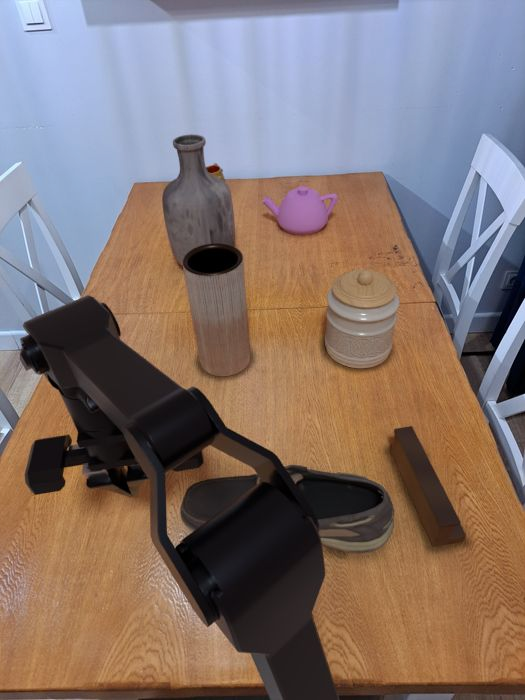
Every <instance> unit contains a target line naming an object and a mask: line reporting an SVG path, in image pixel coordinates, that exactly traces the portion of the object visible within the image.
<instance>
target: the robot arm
mask: <svg viewBox="0 0 525 700" xmlns="http://www.w3.org/2000/svg"><path fill="white" fill-rule="evenodd" d="M22 328H23V329H24V331H25V333H26V334H27V335H24V336H22V337H20V338H19V341H20V345H21V348H20V352H19V361H20V363H21V364H22V366H23V368H24V370H25V371H26V372H28V371H29V370H31V369H32V371H33V372H34V374H36V375H39V376H41V375H44V377H45V379H46V380H47V381H48V383H49V384H50V385H51V386H52V388H53V389H55V390H57V391H58V392H59V394H60V397H61V399H62V401H63V403H64V405H65V408H66V409H67V412H68V414H69V416H70V418H71V420H72V423H73V425H74V427H75V429H76V432H77V435H76V444H72V443H73V438H72V437H71V435H70V434H62V435H57V436H56V435H55V436H49V437H44V438H38V439H35V440H34V441H33V442H32V444H31V446H30V450H29V453H28V458H27V463H26V467H25V472H24V482H25V485H26V487H27V488H28V490H29V491H30V492H31V493H32V494H33V495H35V496H37V495H43V494H49V493H55V492H60V491H61V490H62V489H63V488H65V487H66V479H65V478H64V473H65V469H66V468H72V467H77V466H78V467H79V466H82V470H81V473H82V475H83V476H85V477H86V483H85V485H86V487H87V488H88V489H90V490H95V489H96V490H97V489H98V490H103V491H107V492H112V493H115V494H118V495H121V496H124V497H127V498H137V497H138V495H139V491H140V488H141V486H142V485H143V484H144V483H145V481H149V526H150V527H149V529H150V532H149V533H150V534H149V535H150V539H151V543H152V545H153V546H154V547H155V549H156V551H157V552H158V555H159V556H160V558H161V559H162V561H163V562H164V565H165V566H166V567H167V569H168V571H169V573H170V574H171V576H172V577H173V579H174V580H175V582H176V584H177V586H178V587H179V589H180V591H181V593H182V594H183V596H184V597H185V599H186V601H187V602H188V604H189V605H190V607H191V608H192V610H193V611H194V613H195V614H196V616H197V617H198V619H199V620H200V621H201V622H202V624H203V625H204V626H205V627H206V628H209V627H211V625H213V624H214V623H215V625H216V626H217V627H218V628H219V630H220V631H221V633H223V635H224V636H225V637H226V639H227V640H228V641H229V642H230V644H231V645H232V647H233V648H234V649H235V651H236V652H237V653H241V654H250V656H251V658H252V660H253V663H254V665H255V668H256V670H257V672H258V673H259V676H260V679H261V681H262V683H263V686H264V688H265V691H266V692H267V694H268V698H269V700H341V699H340V695H339V693H338V690H337V686H336V684H335V681H334V676H333V674H332V671H331V668H330V664H329V662H328V658H327V655H326V653H325V648H324V646H323V644H322V640H321V637H320V635H319V631H318V628H317V626H316V622H315V618H314V616H313V611H314V608H315V604H316V602H317V599H318V597H319V594H320V591H321V589H322V586H323V584H324V580H325V577H326V565H325V558H324V557H325V556H324V549H323V545H322V542H321V537H320V535H319V529H320V525H319V522H318V519H317V517H316V515H315V513H314V511H313V510H312V508H311V506H310V505H309V503H308V502H307V500H306V499H305V497H304V496H303V494H302V493H301V491H300V490H299V488H298V487H297V485H296V484H295V482H294V481H293V479H292V478H291V476H290V475H289V473H288V472H287V470H286V469H285V467H286V466H284V463H282V461H281V460H280V458H279V456H278V455H277V454H276V453H275V452H274V451H272V450H270V449H268V448H266V447H264V446H262V445H261V444H258V443H257V442H255V441H253V440H251V439H249V438H247V437H245V436H244V435H242V434H240V433H238V432H236V431H234V430H233V429H230V428H229V427H227V426H226V423H224V421H223V420H222V418H221V416H220V415H219V413H218V412H217V410H216V409H215V407H214V406H213V404H212V403H211V401H210V400H209V398H208V397H207V396H206V395H205V394H204V393H203V392H202V390H200V389H199V388H198V387H195V386H190V387H189V388H187V389H186V388H184V387H182V386H181V385H180V384H179V383H178V382H176V381H175V380H173V379H172V378H171V377H169V376H168V375H167V374H166V373H164V372H163V371H162V370H160V369H159V368H158V367H157V366H155V365H154V364H152V363H151V362H150V361H149V360H148V359H146V358H145V357H143V355H141V354H140V353H139V352H137V351H136V350H134V349H133V348H132V347H130V345H128V344H127V343H125V342H124V341H123V340H121V338H120V337H121V336H122V333H121V332H122V331H121V329H120V325H119V322H118V321H117V318H116V317H115V315H114V313H113V312H112V310H111V308H110V307H109V306H108V305H107V303H105V302H100V301H98V299H97V298H95V297H94V296H92V295H89V294H87V295H84V296H82V297H80V298H78V299H75V300H73V301H70V302H68V303H66V304H63V305H61V306H59V307H57V308H54V309H51V310H49V311H47V312H44V313H42V314H39V315H37V316H34V317H33V318H31V319H28V320H26V321H24V322H23V324H22ZM209 446H211V447H213V448H214V449H216V450H217V451H220V452H221V453H224V454H226V455H227V456H229V457H231V458H233V459H235V460H237V461H239V462H241V463H243V464H245V465H246V466H248V467H250V468H251V469H253V470H254V471H255V474H258V476H259V477H260V479H261V481H262V482H259V483H258V484H257V485H255V486H254V487H253V488H251V489H250V490H249V491H247V492H246V493H245V494H243V495H242V496H241V497H239V498H238V499H236V500H235V501H234V502H232V503H231V504H230V505H228V506H227V507H226V508H224V509H223V510H222V511H220V512H219V513H218V514H216V515H215V516H213V517H212V518H211V519H209V520H208V521H207V522H205V523H204V524H203V525H201V526H200V527H199V528H197V529H196V530H195V531H191V532H190V533H189V534H187V535H186V536H185V537H184V538H182V539H181V540H180V541H179V543H178V544H177V545H176V546H175V545H174V544H173V542H172V540H171V539H170V537H169V535H168V521H167V519H168V518H167V486H166V485H167V484H166V481H167V480H166V475H167V473H170V472H171V471H173V472H175V473H177V472H184V471H191V470H196V469H200V468H201V467H202V466H203V465H204V464H205V459H204V450H205V449H206V448H207V447H209ZM125 467H126V468H125Z"/></svg>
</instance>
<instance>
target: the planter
mask: <svg viewBox="0 0 525 700" xmlns="http://www.w3.org/2000/svg"><path fill="white" fill-rule="evenodd" d="M182 264H183V266H182V269H183V275H184V280H185V287H186V292H187V299H188V304H189V308H190V316H191V321H192V327H193V332H194V338H195V344H196V350H197V354H198V361H199V364H200V367H201V368H202V370H203V371H205V372H206V373H208V374H210V375H212V376H216V377H230V376H233V375H236V374H239V373H241V372H243V371H244V370H245V369H246V368H247V367H248V366H249V365H250V362H251V358H252V357H251V356H252V355H251V341H250V340H251V339H250V328H249V315H248V302H247V290H246V279H245V277H246V276H245V263H244V255H243V253H242V252H241V250H240V249H239V248H237V247H236V246H235V247H233V246H231V245H227V244H220V243H214V244H206V245H202V246H199V247H196V248H194V249H192V250H191V251H189V252H188V253H187V254H186V255H185V256H184V258H183V262H182Z"/></svg>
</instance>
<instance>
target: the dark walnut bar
mask: <svg viewBox="0 0 525 700" xmlns="http://www.w3.org/2000/svg"><path fill="white" fill-rule="evenodd" d="M393 434H394V436H393V438H392V444H391V449H390V453H391V456H392V458H393V460H394V462H395V465H396V467H397V469H398V471H399V474H400V477H401V478H402V481H403V483H404V485H405V487H406V490H407V492H408V494H409V496H410V499H411V501H412V503H413V506H414V508H415V511H416V513H417V515H418V517H419V519H420V522H421V524H422V526H423V528H424V531H425V532H426V535H427V537H428V539H429V542H430V544H431V546H432V548H437V547H443V546H448V545H452V544H458V543H459V544H460V543H464V542H465V539H466V538H467V534H466V533H465V531H464V528H463V527H462V525H461V520H460V518H459V516H458V514H457V512H456V510H455V508H454V506H453V504H452V502H451V500H450V498H449V496H448V494H447V492H446V490H445V489H444V486H443V485H442V482H441V480H440V479H439V477H438V475H437V473H436V471H435V469H434V467H433V465H432V463H431V461H430V459H429V457H428V455H427V453H426V451H425V449H424V447H423V445H422V443H421V440H420V439H419V437H418V436H417V433H416V432H415V429H414V427H413V426H412V425H409V426H402V427H396V428H394V429H393Z"/></svg>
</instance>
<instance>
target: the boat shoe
mask: <svg viewBox="0 0 525 700" xmlns="http://www.w3.org/2000/svg"><path fill="white" fill-rule="evenodd" d="M284 467H285V469H286V470H287V472H288V473H289V475H290V476H291V478H292V479H293V481H294V482H295V484H296V485H297V487H298V488H299V490H300V491H301V493H302V494H303V496H304V497H305V499H306V500H307V502H308V503H309V505H310V506H311V508H312V510H313V511H314V513H315V515H316V517H317V519H318V522H319V525H320V529H319V535H320V537H321V542H322V546H325V547H328V548H331V549H334V550H338V551H341V552H345V553H351V554H366V553H371V552H374V551H376V550H378V549H380V548H381V547H384V545H386V543H387V542H388V541H389V540H390V537H391V535H392V534H393V531H394V527H395V526H394V525H395V518H394V517H395V508H394V504H393V501H392V498H391V497H390V494H389V493H388V491H387V489H386V488H385V487H384V486H383V485H381V484H380V483H378V482H376V481H373V480H371V479H369V478H368V477H366V476H363V475H359V474H355V473H349V472H341V471H340V472H329V471H322V470H317V469H313V468H310V469H308V467H307V466H304V465H301V464H300V465H299V464H288V465H286V466H284ZM259 482H262V481H261V479H260V477H259V476H258V474H257V473H254V474H253V473H252V474H250V475H249V474H248V475H247V474H246V475H235V476H222V477H213V478H207V479H204V480H198V481H197V482H193V484H191V485H190V486H188V488H186V491H185V492H184V495H183V498H182V501H181V504H180V510H179V511H180V512H179V513H180V518H181V520H182V522H183V524H184V525H185V526H186V528H188V529H189V530H190V531H191V532H193V531H195V530H196V529H197V528H199V527H200V526H201V525H203V524H204V523H205V522H207V521H208V520H209V519H211V518H212V517H213V516H215V515H216V514H218V513H219V512H220V511H222V510H223V509H224V508H226V507H227V506H228V505H230V504H231V503H232V502H234V501H235V500H236V499H238V498H239V497H241V496H242V495H243V494H245V493H246V492H247V491H249V490H250V489H251V488H253V487H254V486H255V485H257V484H258V483H259Z"/></svg>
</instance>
